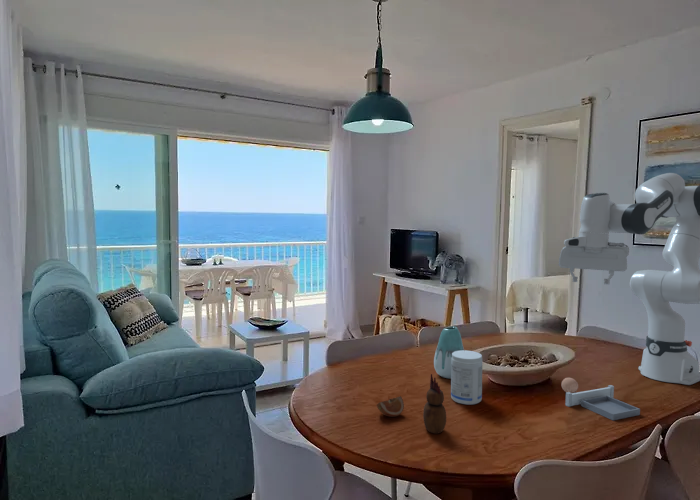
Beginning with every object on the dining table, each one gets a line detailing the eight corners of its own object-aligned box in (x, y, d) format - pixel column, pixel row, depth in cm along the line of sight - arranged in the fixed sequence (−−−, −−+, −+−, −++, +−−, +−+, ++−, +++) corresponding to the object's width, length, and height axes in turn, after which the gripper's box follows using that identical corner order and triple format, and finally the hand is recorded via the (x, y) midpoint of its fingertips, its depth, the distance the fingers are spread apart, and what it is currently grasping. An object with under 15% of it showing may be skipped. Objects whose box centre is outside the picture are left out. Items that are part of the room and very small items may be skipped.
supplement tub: (468, 392, 153) (469, 348, 152) (488, 402, 144) (489, 356, 143) (444, 396, 148) (445, 352, 147) (463, 407, 140) (465, 360, 139)
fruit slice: (385, 423, 129) (385, 405, 129) (371, 414, 134) (371, 397, 134) (408, 416, 134) (408, 399, 133) (393, 408, 139) (393, 392, 139)
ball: (568, 389, 156) (569, 374, 156) (581, 394, 152) (581, 379, 151) (557, 391, 154) (558, 376, 154) (569, 396, 150) (570, 381, 149)
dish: (606, 401, 146) (607, 395, 146) (639, 414, 136) (640, 408, 136) (580, 405, 142) (581, 400, 142) (612, 420, 132) (613, 414, 132)
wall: (610, 397, 150) (610, 384, 149) (613, 398, 149) (614, 386, 148) (565, 405, 143) (565, 392, 142) (568, 406, 141) (569, 393, 141)
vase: (430, 378, 165) (431, 329, 164) (437, 368, 176) (438, 322, 175) (463, 383, 161) (464, 332, 160) (468, 373, 172) (469, 325, 171)
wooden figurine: (420, 425, 128) (421, 372, 127) (441, 424, 128) (442, 371, 127) (426, 436, 121) (428, 380, 120) (448, 436, 121) (449, 380, 120)
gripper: (628, 243, 152) (625, 284, 152) (560, 240, 160) (557, 279, 161) (630, 243, 146) (627, 286, 147) (559, 240, 155) (557, 281, 155)
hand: (590, 283), depth 154 cm, fingers open, 8 cm apart
